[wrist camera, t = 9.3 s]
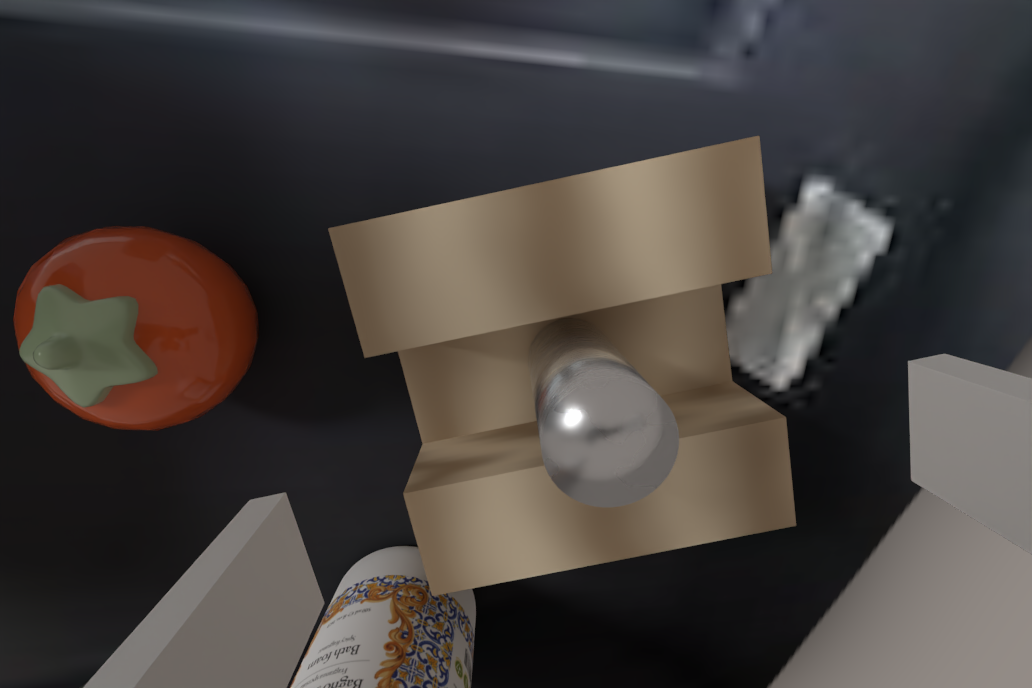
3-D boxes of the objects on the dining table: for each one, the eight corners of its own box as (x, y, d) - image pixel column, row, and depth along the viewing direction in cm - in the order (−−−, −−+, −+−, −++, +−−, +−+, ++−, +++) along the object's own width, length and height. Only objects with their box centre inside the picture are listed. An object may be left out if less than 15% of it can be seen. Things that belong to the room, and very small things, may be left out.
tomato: (151, 192, 21) (-58, 171, 13) (317, 278, 22) (213, 306, 14) (93, 346, 22) (-129, 409, 15) (252, 421, 23) (123, 518, 15)
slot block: (447, 520, 25) (431, 596, 19) (370, 228, 21) (328, 228, 16) (735, 463, 24) (796, 525, 19) (698, 158, 21) (759, 135, 16)
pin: (536, 406, 22) (555, 519, 14) (520, 327, 22) (528, 394, 13) (616, 389, 22) (687, 493, 14) (603, 310, 22) (668, 365, 13)
